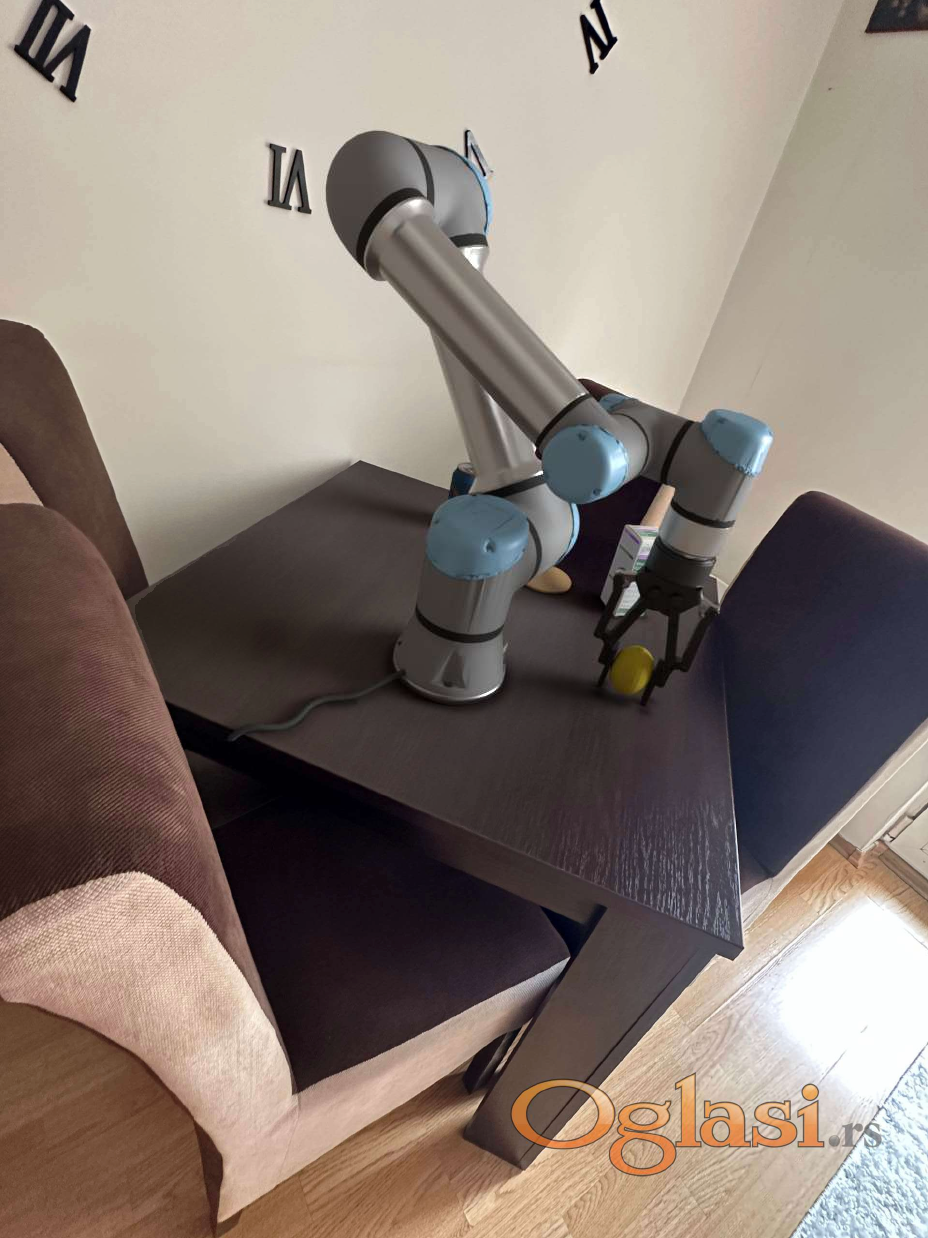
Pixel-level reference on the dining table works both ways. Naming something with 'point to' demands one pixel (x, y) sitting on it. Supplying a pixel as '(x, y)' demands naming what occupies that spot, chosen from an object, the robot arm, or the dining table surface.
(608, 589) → the syrup box
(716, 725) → the dining table surface
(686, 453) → the robot arm
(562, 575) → the coaster
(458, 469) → the soda can
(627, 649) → the lemon
